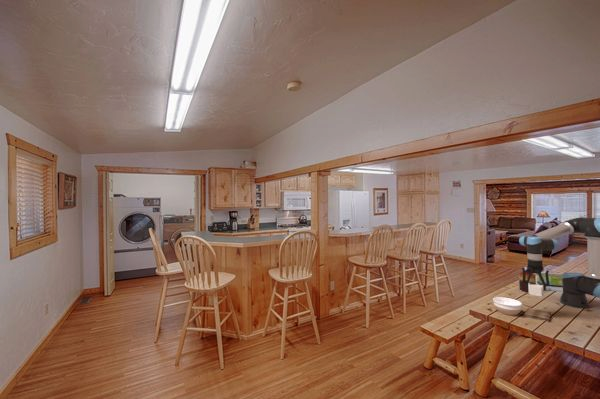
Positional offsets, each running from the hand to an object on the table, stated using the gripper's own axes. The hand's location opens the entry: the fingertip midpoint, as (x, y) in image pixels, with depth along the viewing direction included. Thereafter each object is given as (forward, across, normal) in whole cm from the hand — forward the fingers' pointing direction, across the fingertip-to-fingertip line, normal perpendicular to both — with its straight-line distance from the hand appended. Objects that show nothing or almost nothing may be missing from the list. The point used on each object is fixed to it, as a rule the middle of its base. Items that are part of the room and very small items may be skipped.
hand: (536, 293), depth 177 cm
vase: (+15, +12, -58) cm, 61 cm away
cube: (0, 0, 0) cm, 0 cm away
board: (+15, 0, -1) cm, 15 cm away
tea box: (+15, -1, -76) cm, 77 cm away
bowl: (+15, +15, +6) cm, 22 cm away
